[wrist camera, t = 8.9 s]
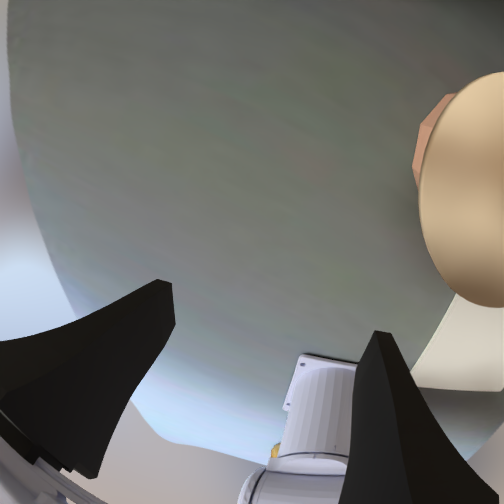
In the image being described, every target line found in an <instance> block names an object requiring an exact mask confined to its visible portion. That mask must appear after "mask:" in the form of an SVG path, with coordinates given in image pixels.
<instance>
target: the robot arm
mask: <svg viewBox="0 0 504 504" xmlns="http://www.w3.org/2000/svg"><path fill="white" fill-rule="evenodd" d="M175 325H176V323H175V313H174V304H173V293H172V283H170V282H166V281H163V280H159V279H156V280H154V281H152V282H150V283H148V284H146V285H144V286H143V287H141V288H139V289H137V290H135V291H133V292H132V293H130V294H128V295H126V296H124V297H122V298H121V299H119V300H117V301H115V302H113V303H111V304H109V305H108V306H105V307H103V308H101V309H99V310H97V311H95V312H93V313H91V314H89V315H87V316H85V317H83V318H81V319H78V320H76V321H74V322H71V323H68V324H66V325H64V326H61V327H58V328H55V329H52V330H49V331H45V332H42V333H39V334H35V335H31V336H27V337H23V338H18V339H13V340H7V341H0V504H68V503H67V502H66V497H67V498H69V499H70V500H71V501H73V502H75V503H76V504H107V503H105V502H103V501H102V500H100V499H99V498H97V497H95V496H94V495H92V494H91V493H89V492H87V491H86V490H84V489H83V488H81V487H80V486H78V485H77V484H75V483H74V482H72V481H71V480H69V479H68V478H67V477H65V476H64V475H62V474H61V473H60V470H61V469H62V468H64V469H65V470H66V471H68V472H69V473H71V472H72V470H73V469H74V470H75V471H77V472H78V473H80V474H81V475H83V476H84V477H86V478H88V479H94V478H97V476H98V473H99V470H100V467H101V463H102V461H103V458H104V455H105V452H106V449H107V447H108V444H109V442H110V439H111V437H112V435H113V432H114V430H115V428H116V426H117V424H118V421H119V419H120V417H121V415H122V413H123V411H124V409H125V407H126V405H127V403H128V401H129V399H130V397H131V396H132V394H133V392H134V391H135V389H136V388H137V386H138V385H139V383H140V382H141V380H142V379H143V377H144V376H145V374H146V373H147V372H148V370H149V369H150V367H151V366H152V364H153V363H154V361H155V360H156V358H157V357H158V355H159V354H160V352H161V351H162V349H163V348H164V346H165V345H166V343H167V341H168V339H169V337H170V335H171V333H172V331H173V329H174V327H175ZM283 409H284V410H285V411H289V413H288V417H287V421H286V425H285V429H284V433H283V437H282V440H281V444H280V448H279V451H278V455H277V458H272V457H270V458H269V461H268V464H267V468H266V467H260V468H258V469H257V470H255V472H253V473H252V474H251V475H250V476H249V477H248V478H247V480H246V481H245V483H244V485H243V487H242V489H241V492H240V495H239V498H238V502H237V504H499V495H498V494H497V493H496V492H495V491H494V490H493V489H492V488H491V487H490V486H488V484H486V483H485V482H484V481H483V480H482V479H481V478H480V477H479V476H478V475H477V474H476V472H475V471H474V470H473V469H472V468H471V467H470V466H469V465H468V464H467V462H466V461H465V460H464V459H463V457H462V456H461V455H460V454H459V452H458V451H457V450H456V448H455V447H454V446H453V444H452V443H451V442H450V440H449V439H448V437H447V436H446V435H445V433H444V432H443V430H442V428H441V427H440V425H439V424H438V422H437V421H436V419H435V418H434V416H433V414H432V413H431V411H430V409H429V407H428V406H427V404H426V402H425V400H424V398H423V397H422V395H421V393H420V391H419V389H418V387H417V385H416V383H415V381H414V379H413V377H412V375H411V373H410V371H409V369H408V367H407V365H406V363H405V361H404V359H403V356H402V354H401V352H400V350H399V348H398V346H397V344H396V342H395V340H394V338H393V336H392V334H391V333H387V332H381V331H376V330H375V331H374V333H373V335H372V337H371V339H370V342H369V344H368V346H367V348H366V350H365V352H364V354H363V356H362V358H361V360H360V362H359V363H358V365H357V364H351V363H346V362H340V361H335V360H330V359H325V358H320V357H315V356H310V355H305V354H303V355H301V356H300V357H299V359H298V362H297V366H296V369H295V372H294V375H293V378H292V381H291V384H290V387H289V390H288V393H287V396H286V399H285V402H284V405H283Z"/></svg>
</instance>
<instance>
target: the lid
mask: <svg viewBox="0 0 504 504" xmlns="http://www.w3.org/2000/svg"><path fill="white" fill-rule="evenodd" d="M418 205H419V218H420V223H421V228H422V234H423V237H424V240H425V243H426V246H427V249H428V251H429V253H430V255H431V258H432V260H433V262H434V264H435V266H436V268H437V270H438V272H439V273H440V275H441V276H442V278H443V280H444V281H445V282H446V283H447V284H448V285H449V287H450V288H451V289H452V290H453V291H455V292H456V293H457V294H458V295H459V296H461V297H462V298H464V299H466V300H467V301H469V302H471V303H474V304H476V305H479V306H484V307H489V308H504V72H499V73H491V74H488V75H485V76H482V77H479V78H477V79H475V80H474V81H472V82H470V83H469V84H467V85H466V86H464V87H463V88H462V89H461V90H460V91H459V92H457V93H456V94H455V95H454V97H453V98H452V99H451V100H450V101H449V102H448V104H447V105H446V106H445V108H444V109H443V111H442V113H441V114H440V116H439V117H438V119H437V121H436V123H435V125H434V127H433V129H432V131H431V134H430V136H429V139H428V142H427V145H426V148H425V151H424V156H423V160H422V164H421V170H420V178H419V191H418Z"/></svg>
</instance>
